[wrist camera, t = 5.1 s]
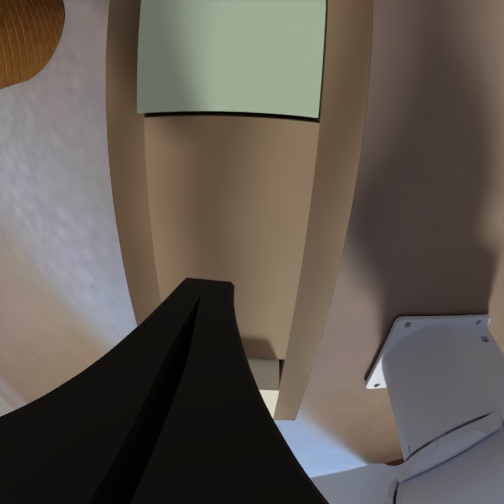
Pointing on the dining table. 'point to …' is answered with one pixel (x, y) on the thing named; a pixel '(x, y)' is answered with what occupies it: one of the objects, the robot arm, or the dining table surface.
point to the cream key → (266, 380)
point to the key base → (242, 195)
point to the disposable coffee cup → (27, 37)
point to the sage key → (231, 56)
